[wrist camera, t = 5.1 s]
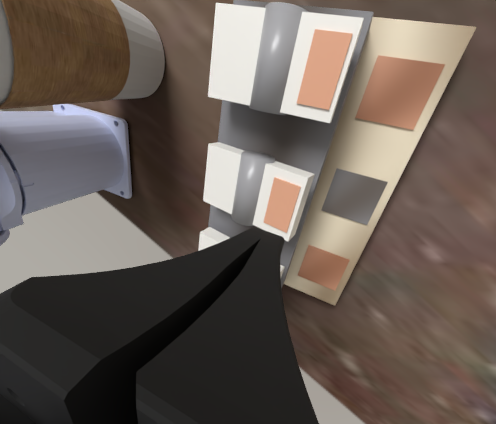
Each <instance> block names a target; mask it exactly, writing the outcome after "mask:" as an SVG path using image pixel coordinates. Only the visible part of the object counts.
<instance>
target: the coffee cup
mask: <svg viewBox="0 0 496 424" xmlns="http://www.w3.org/2000/svg"><path fill="white" fill-rule="evenodd" d="M164 67H165V57H164V50H163V45H162V42H161V39H160V36H159V34H158V32H157V30H156V28H155V27H154V25H153V24H152V23H151V22H150V20H149V19H148V18H147V17H145V16H144V15H143V14H141V13H140V12H138V11H136V10H135V9H133V8H131V7H130V6H128V5H126V4H124V3H123V2H121V1H119V0H0V109H9V108H21V107H33V106H46V105H58V104H70V103H82V102H95V101H106V100H114V99H135V98H144V97H148V96H150V95H152V94H153V93H154V92H155V91H156V90H157V89H158V87H159V85H160V84H161V81H162V78H163V74H164Z"/></svg>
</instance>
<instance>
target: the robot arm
mask: <svg viewBox="0 0 496 424" xmlns="http://www.w3.org/2000/svg"><path fill="white" fill-rule="evenodd" d="M53 109H54V111H0V246H1V245H2V244H3V243H4V242H5V241H6V240H7V239H8V237H9V234H10V232H9V229H11V228H13V227H16V226H19V225H22V224H23V223H24V222H23V220H22V215H25V214H28V213H32V212H35V211H38V210H41V209H44V208H47V207H50V206H53V205H56V204H59V203H63V202H66V201H68V200H72V199H75V198H78V197H81V196H84V195H88V194H91V193H94V192H97V191H100V190H106V191H109V192H111V193H114V194H116V195H119V196H121V197H124V198H126V199H129V198H131V197H132V185H131V169H130V153H129V137H128V124H127V122H126V121H125V120H124V119H122V118H118V117H115V116H111V115H107V114H104V113H100V112H97V111H93V110H90V109H86V108H83V107H79V106H76V105H72V104H58V105H53ZM284 242H285V240H284V238H283V237H282V236H279V235H276V234H273V233H271V232H268V231H265V230H262V229H259V228H256V227H253V228H251V229H248V230H246V231H244V232H242V233H240V234H238V235H236V236H234V237H231V238H229V239H227V240H225V241H222V242H220V243H218V244H215V245H213V246H210V247H207V248H205V249H202V250H200V251H197V252H194V253H191V254H188V255H185V256H181V257H177V258H174V259H170V260H166V261H162V262H157V263H152V264H147V265H143V266H138V267H133V268H126V269H120V270H113V271H105V272H97V273H88V274H77V275H61V276H48V277H31V278H29V279H27V280H26V281H23V282H21V283H20V284H18V285H16V286H14V287H12V288H10V289H8V290H6V291H4V292H3V293H1V294H0V424H319V423H318V420H317V418H316V415H315V412H314V410H313V407H312V404H311V401H310V399H309V396H308V393H307V390H306V388H305V384H304V381H303V378H302V375H301V372H300V369H299V366H298V362H297V359H296V355H295V352H294V348H293V344H292V341H291V337H290V333H289V330H288V325H287V320H286V316H285V310H284V304H283V298H282V290H281V277H280V258H281V252H282V249H283V245H284Z"/></svg>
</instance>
